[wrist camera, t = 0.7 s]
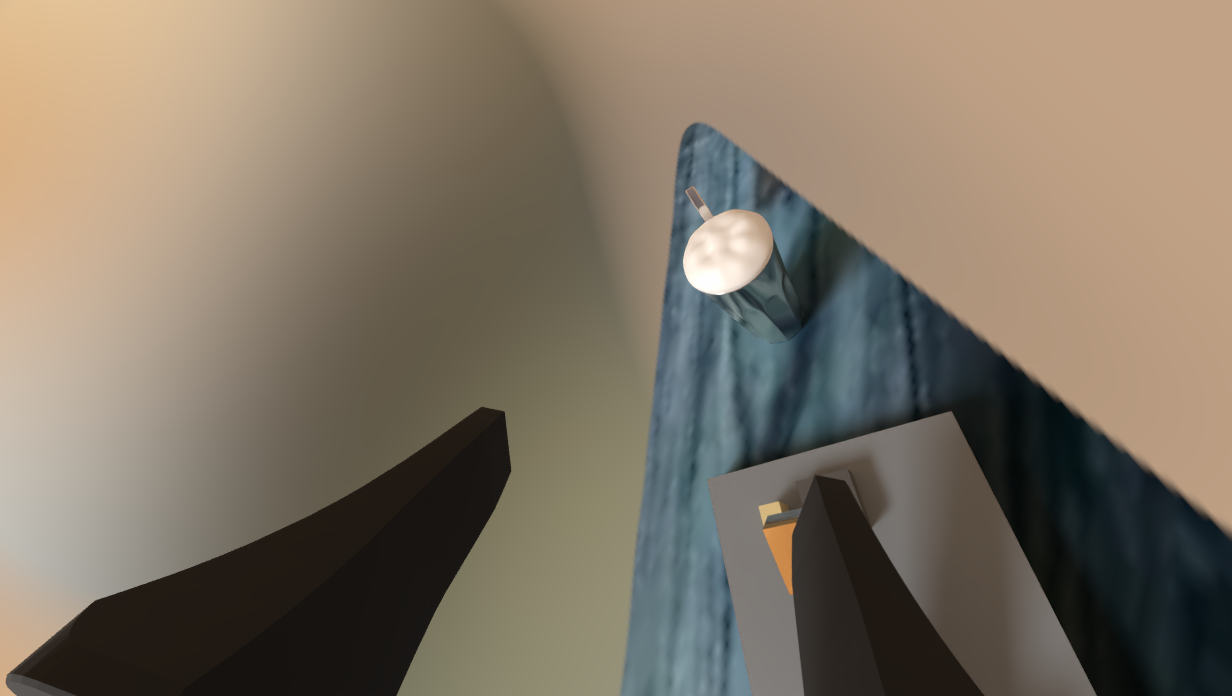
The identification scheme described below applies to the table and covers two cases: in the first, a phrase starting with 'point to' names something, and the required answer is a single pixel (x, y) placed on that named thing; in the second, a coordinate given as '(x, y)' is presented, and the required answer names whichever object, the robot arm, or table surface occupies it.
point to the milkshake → (743, 272)
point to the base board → (901, 559)
